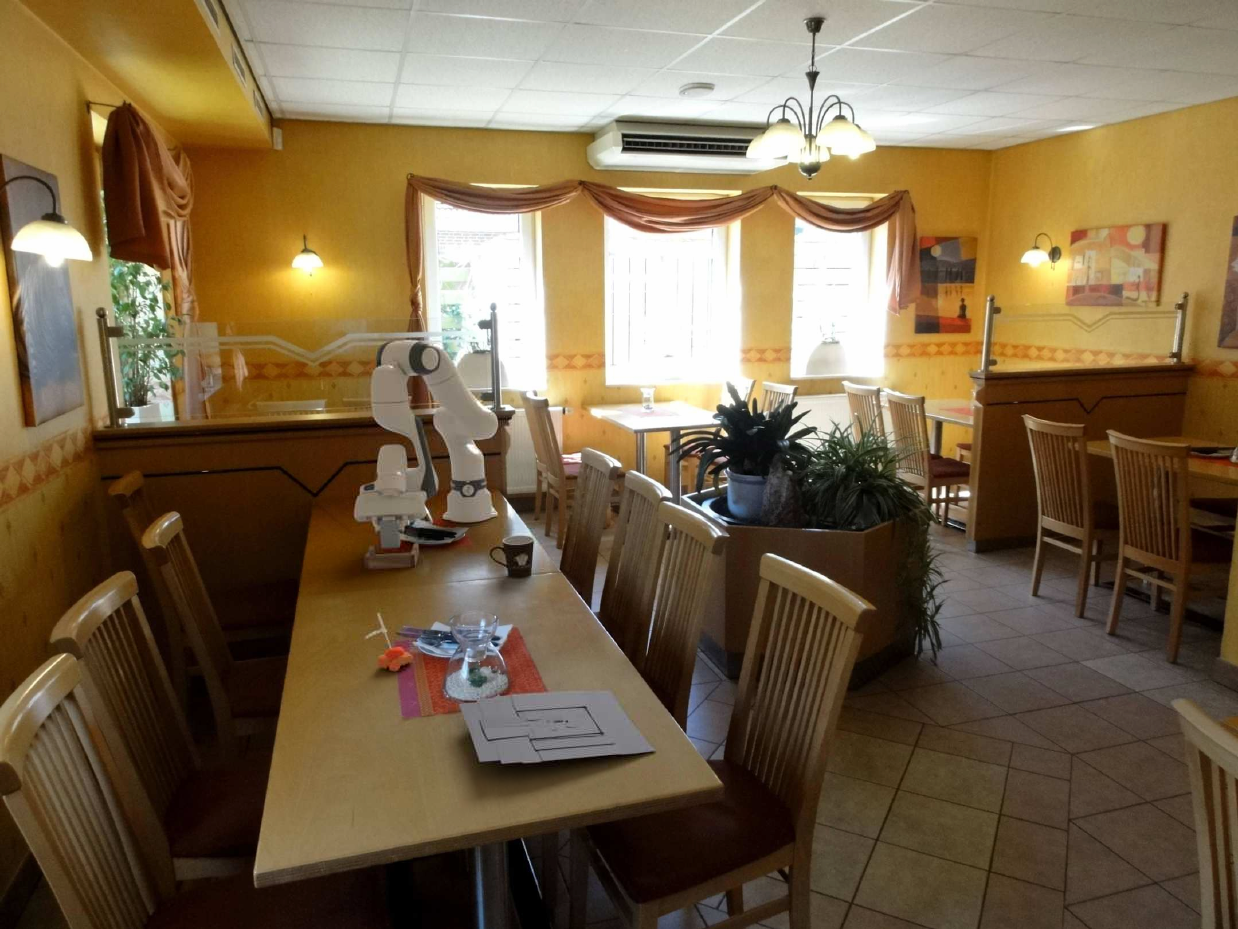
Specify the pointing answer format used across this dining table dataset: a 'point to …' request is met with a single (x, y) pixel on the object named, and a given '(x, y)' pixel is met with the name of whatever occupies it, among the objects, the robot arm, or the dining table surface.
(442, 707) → the dining table surface
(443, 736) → the dining table surface
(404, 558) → the bay
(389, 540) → the grey upright block
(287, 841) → the dining table surface
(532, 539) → the coffee mug
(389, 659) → the orange flower
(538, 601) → the dining table surface
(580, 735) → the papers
